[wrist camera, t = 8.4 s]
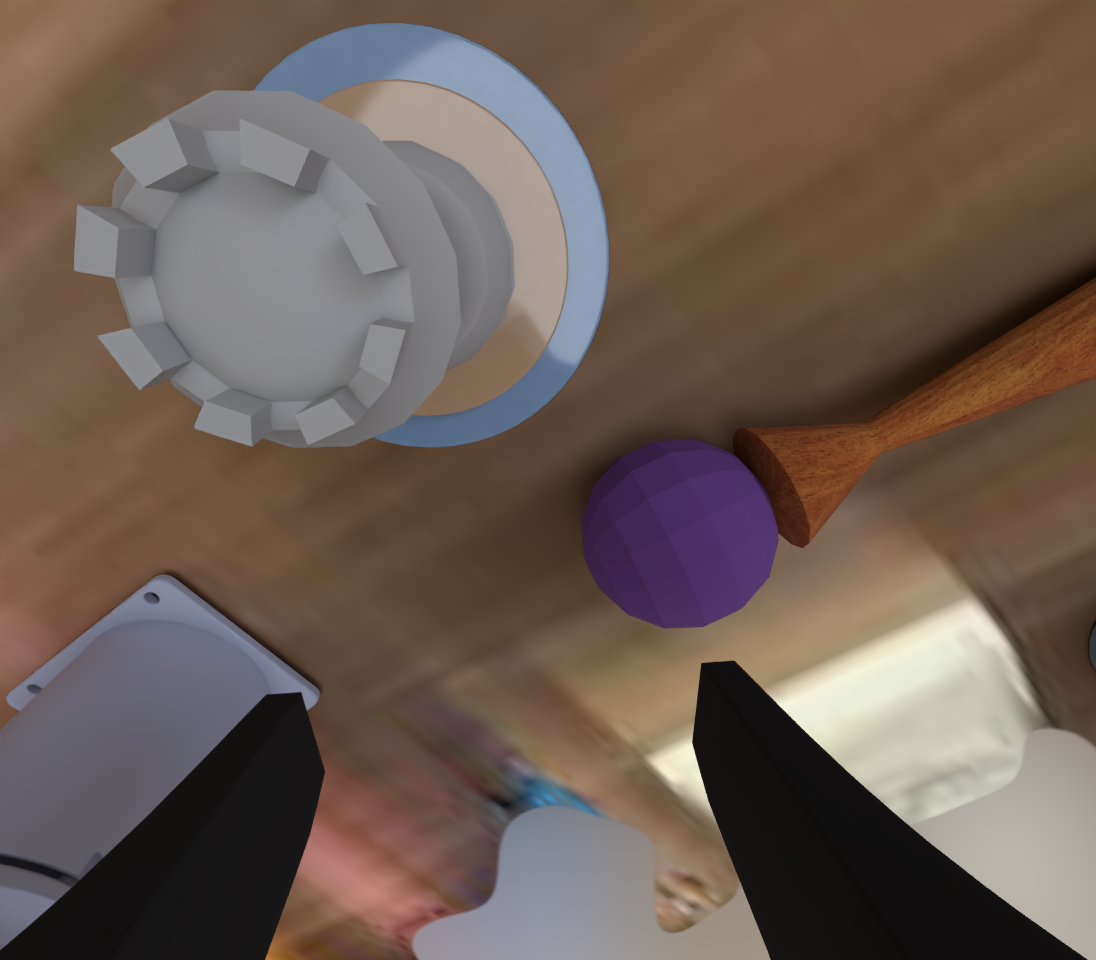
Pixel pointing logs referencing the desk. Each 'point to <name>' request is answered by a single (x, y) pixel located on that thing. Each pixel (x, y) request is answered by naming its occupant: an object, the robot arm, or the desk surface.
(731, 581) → the kendama
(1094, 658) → the grey textured cup
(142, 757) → the robot arm
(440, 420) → the short blue cylinder
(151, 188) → the rook chess piece
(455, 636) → the desk surface
